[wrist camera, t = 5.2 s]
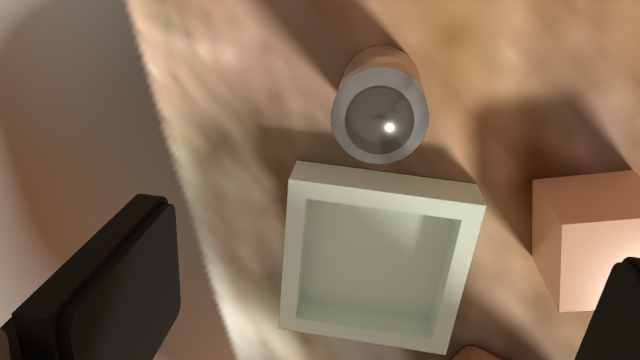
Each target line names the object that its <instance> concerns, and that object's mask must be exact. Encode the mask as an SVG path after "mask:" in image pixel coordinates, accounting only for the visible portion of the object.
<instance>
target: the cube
mask: <svg viewBox="0 0 640 360" xmlns="http://www.w3.org/2000/svg"><path fill="white" fill-rule="evenodd" d="M532 257H533V259H534V261H535V264H536V266H537V268H538V270H539V272H540V274H541V276H542V278H543V280H544V282H545V284H546V286H547V288H548V290H549V292H550V294H551V296H552V298H553V300H554V302H555V304H556V306H557V308H558V310H559V312H570V311H590V310H595V308H596V306H597V303H598V301H599V298H600V296H601V294H602V291H603V289H604V286H605V284H606V281H607V279H608V276H609V274H610V272H611V269H612V267H613V265H614V264H615V263H618V262H622V261H623V260H624V259H625V258H626V257H637V258H640V176H639V175H638V174H637V173H636V172H635V171H633V170H626V171H616V172H606V173H596V174H586V175H576V176H565V177H555V178H545V179H535V180H532Z"/></svg>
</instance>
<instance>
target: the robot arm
mask: <svg viewBox="0 0 640 360" xmlns="http://www.w3.org/2000/svg"><path fill="white" fill-rule="evenodd" d="M178 266H179V265H178V249H177V232H176V216H175V208H174V206H173V205H172V204H168V201H167V199H166V198H165V197H162V196H154V195H146V194H137V195H136V196H135V197H134V198H133V199H132V200H130V202H128V203H127V204H126V205H125V206H124V207H123V208H122V209H121V210H120V211H119V212H118V213H117V214H116V215H115V216H114V217H113V218H112V219H111V220H109V221H108V222H107V223H106V224H105V225H104V226H103V227H102V228H101V229H100V230H99V231H98V232H97V233H96V234H95V235H94V236H93V237H92V238H91V239H90V240H89V241H87V242H86V243H85V244H84V245H83V246H82V247H81V248H80V249H79V250H78V251H77V252H76V253H75V254H74V255H73V256H72V257H71V258H70V259H69V260H67V261H66V262H65V263H64V264H63V265H62V266H61V267H60V268H59V269H58V270H57V271H56V272H55V273H54V274H53V275H52V276H51V277H50V278H49V279H48V280H46V281H45V282H44V283H43V284H42V285H41V286H40V287H39V288H38V289H37V290H36V291H35V292H34V293H33V294H32V295H31V296H30V297H29V298H28V299H27V300H25V302H23V303H22V304H21V305H20V306H19V307H18V308H17V309H16V310H15V311H14V312H13V313H12V317H11V318H10V319H9V320H8V321H7V322H6V323H5V324H4V325H3V326H2V327H1V328H0V360H153V358H154V356H155V354H156V353H157V351H158V349H159V348H160V346H161V344H162V342H163V341H164V339H165V337H166V335H167V334H168V332H169V330H170V328H171V327H172V325H173V323H174V322H175V320H176V318H177V316H178V313H179V310H180V304H181V299H180V283H179V267H178ZM575 360H640V258H637V257H626V258H625V259H624V260H623V261H622V262H618V263H615V264H614V265H613V267H612V269H611V272H610V274H609V276H608V279H607V281H606V284H605V286H604V289H603V291H602V294H601V296H600V298H599V301H598V303H597V306H596V308H595V311H594V313H593V316H592V318H591V320H590V323H589V325H588V328H587V330H586V333H585V335H584V338H583V340H582V342H581V345H580V347H579V350H578V352H577V355H576V357H575Z"/></svg>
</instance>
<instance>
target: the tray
mask: <svg viewBox="0 0 640 360" xmlns="http://www.w3.org/2000/svg"><path fill="white" fill-rule="evenodd" d="M485 208H486V204H485V202H484V199H483V197H482V194H481V192H480V189H479V187H478V185H477V184H473V183H465V182H457V181H450V180H442V179H435V178H427V177H419V176H412V175H404V174H397V173H389V172H382V171H374V170H366V169H359V168H351V167H344V166H336V165H328V164H321V163H313V162H306V161H298V160H297V161H296V163H295V166H294V168H293V170H292V173H291V175H290V177H289V181H288V196H287V210H286V225H285V240H284V254H283V269H282V284H281V299H280V313H279V328H278V329H284V330H291V331H297V332H303V333H310V334H316V335H322V336H329V337H335V338H341V339H348V340H354V341H360V342H366V343H373V344H379V345H385V346H392V347H398V348H404V349H411V350H417V351H423V352H430V353H436V354H442V355H446V352H447V348H448V345H449V341H450V337H451V334H452V330H453V326H454V323H455V319H456V315H457V312H458V308H459V304H460V300H461V297H462V293H463V289H464V286H465V282H466V278H467V275H468V271H469V267H470V264H471V260H472V256H473V253H474V249H475V245H476V241H477V238H478V234H479V230H480V227H481V223H482V219H483V216H484V212H485Z"/></svg>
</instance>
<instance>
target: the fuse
mask: <svg viewBox="0 0 640 360" xmlns="http://www.w3.org/2000/svg"><path fill="white" fill-rule="evenodd" d="M428 124H429V110H428V105H427V101H426V98H425V94H424V91H423V87H422V84H421V80H420V77H419V73H418V70H417V68H416V65H415V64H414V62H413V60H412V59H411V58H410V57H409V56H408V55H407V54H406V53H405V52H403V51H402V50H400V49H398V48H395V47H392V46H387V45H377V46H372V47H369V48H366V49H364V50H362V51H360V52H359V53H358V54H356V55H355V56H354V57H353V58H352V59H351V61H350V62H349V64H348V65H347V67H346V69H345V72H344V75H343V77H342V80H341V83H340V86H339V89H338V91H337V94H336V97H335V100H334V103H333V106H332V111H331V126H332V130H333V133H334V135H335V138H336V139H337V141H338V143H339V144H340V146H341V147H342V148H343V149H344V150H345V151H346V152H347V153H348V154H350V155H351V156H353V157H354V158H356V159H358V160H360V161H363V162H366V163H371V164H387V163H392V162H395V161H398V160H401V159H403V158H404V157H406V156H408V155H409V154H411V153H412V152H413V151H414V150H415V149H416V148H417V147H418V146H419V144H420V143H421V142H422V140H423V138H424V136H425V134H426V132H427V128H428Z"/></svg>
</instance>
